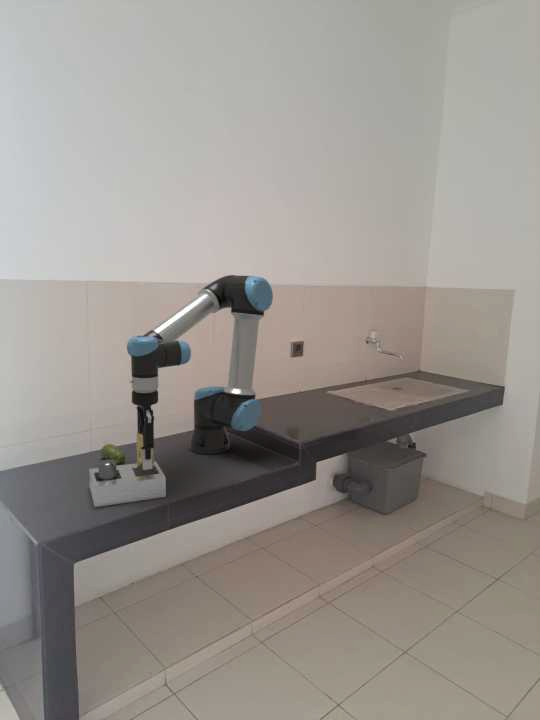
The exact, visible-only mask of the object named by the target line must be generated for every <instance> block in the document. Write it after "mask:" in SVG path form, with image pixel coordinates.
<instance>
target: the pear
mask: <svg viewBox="0 0 540 720" xmlns="http://www.w3.org/2000/svg"><path fill="white" fill-rule="evenodd" d="M100 454H101V455H100V456H101V457H102V458H103V460H115V461H116V465H120V464H122V463H123V464H124V463H125V460H126V456H125V454H124V453H123V451H121V450H120V448H119V447H118V446H116V445H114V444H113V443H108V444H105V445H103V447H102V448H101V449H100Z"/></svg>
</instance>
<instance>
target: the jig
mask: <svg viewBox="0 0 540 720" xmlns="http://www.w3.org/2000/svg"><path fill="white" fill-rule="evenodd" d="M88 474H89V475H88V476H89V479H88V480H89V491H90V496H91V499H92V503H93V508H98V507H106V506H111V505H119V504H125V503H134V502H140V501H146V500H153V499H161V498H166V497H167V496H166V495H167V484H166V483H167V482H166V481H167V479H166V476H165V474H164V472H163V470H162V468H161V467H160V465H159V464H158V462H157V461H156V460H154V467H153V468H152V469H147V470H143V469H139V468H137V462H136V463H130V464H129V463H128V464H121V465H120V464H118V465H117V464H116V461H115V460H111V459H109V460H107V459H102V460H99V461H98V466H97V467H94V468H88Z"/></svg>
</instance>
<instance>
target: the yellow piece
mask: <svg viewBox="0 0 540 720" xmlns="http://www.w3.org/2000/svg"><path fill="white" fill-rule="evenodd" d="M141 447H143V432H140V433H138V432H137V433H136V463H137V468H139V469H143V454H142V450H141ZM154 461H155V447H154V448H152V468H153V467H154Z"/></svg>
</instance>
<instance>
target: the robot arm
mask: <svg viewBox="0 0 540 720" xmlns="http://www.w3.org/2000/svg"><path fill="white" fill-rule="evenodd" d="M273 299H274V295H273V289H272V287H271V285H270V283H269V281H268V280H267V279H266V278H264V277H262V276H257V275H235V274H233V275H232V274H230V275H224V276H221V277H220V278H217V279H215V280H214V281H212V282H210V283H209V284H207V285H205V287H203V288H201V289H200V290H199V291H198V294H197V296H195V297H194V298H193V299H191V300H190V301H188V302H187V303H186V304H185V305H183V306H182V307H180V308H179V309H178V310H175V312H174V313H172V314H171V315H169V316H168V317H167V318H165V319H164V320H163V321H161V322H160V323H159V324H157V325H156V326H155V327H153V328H151V329H150V330H149V331H148V332H146V333H145V334H143V335H134V336H131V337H130V338H129V339H128V341H127V344H126V351H127V353H128V355H129V357H130V360H131V364H130V365H131V368H130V369H131V379H129V383H130V384H131V390H132V391H131V403H132V404H133V405H135V406H136V412H137V413H136V414H137V415H136V416H137V420H136V421H137V433H140V432H143V447H141V450H142V454H143V470H147V469H152V448H154V449H155V430H154V426H155V425H154V424H155V423H154V422H155V415H154V410H153V409H152V406H153V405H156V404H158V402H159V391H158V389H159V369H163V368H169V367H178V366H181V365H185V364H188V362H190V360H191V358H192V357H191V356H192V348H191V347H190V344H189V343H188V342H187V341H185V340H178V339H179V338H180V337H182V336H183V335H185V334H186V333H187V332H188V331H190V330H191V329H192V328H193V327H195V326H196V325H198V323H200V322H201V321H203V320H204V319H205V318H206V317H207V316H209V315H211V314H216V313H217V312H219V311H220V310H224V309H228V308H230V314H231V315H232V316H233V318H234V319H233V320H234V322H233V332H232V340H231V341H232V342H231V350H230V351H231V352H230V359H229V360H230V361H229V362H230V363H229V372H228V384H227V386H226V387H225V386H208V387H200V388H198V389H196V390H195V392H194V398H193V429H192V433H191V436H190V439H189V442H188V443H189V445H188V448H189V450H190V451H191V452H193V453H196V454H201V455H215V454H216V455H217V454H222V453H225V452H227V451H229V450H230V445H231V444H230V443H231V442H230V439H229V435H228V433H227V432H228V431H227V430H226V428H228V429H229V428H230V429H233V430H235V431H242V432H247V431H249V430H252V429H253V428H254V427H255V426H256V424H257V423H258V422H259V419H260V416H261V412H262V408H261V405H260V402H259V401H258V400H257V399H256V395H257V394H256V391H255V390H254V389H253V381H254V373H255V372H254V371H255V363H256V353H257V344H258V343H257V342H258V333H259V323H260V321H261V320H262V319H263V318H264V316H265V312H266V311H268V310H269V309H270V306H272V304H273Z"/></svg>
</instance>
